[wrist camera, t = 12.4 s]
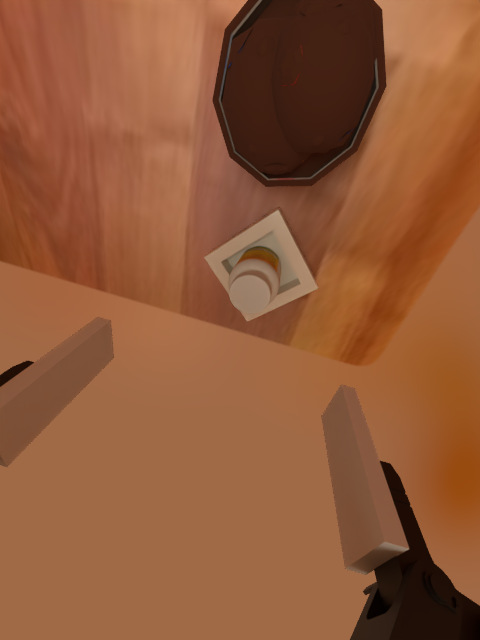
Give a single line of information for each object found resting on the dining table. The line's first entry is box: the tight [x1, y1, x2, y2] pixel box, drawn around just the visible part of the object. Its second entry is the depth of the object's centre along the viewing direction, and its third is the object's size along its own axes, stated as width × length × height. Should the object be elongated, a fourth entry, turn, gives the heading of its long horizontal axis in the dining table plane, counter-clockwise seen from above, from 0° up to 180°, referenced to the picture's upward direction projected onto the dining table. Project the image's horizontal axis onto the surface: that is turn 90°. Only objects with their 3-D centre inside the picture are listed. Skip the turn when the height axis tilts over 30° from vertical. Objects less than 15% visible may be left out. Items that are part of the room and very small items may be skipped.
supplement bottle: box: [228, 246, 281, 314], centre depth 27 cm, size 5×5×10 cm
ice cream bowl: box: [213, 0, 386, 187], centre depth 17 cm, size 11×11×15 cm
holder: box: [204, 207, 318, 322], centre depth 30 cm, size 10×10×3 cm
